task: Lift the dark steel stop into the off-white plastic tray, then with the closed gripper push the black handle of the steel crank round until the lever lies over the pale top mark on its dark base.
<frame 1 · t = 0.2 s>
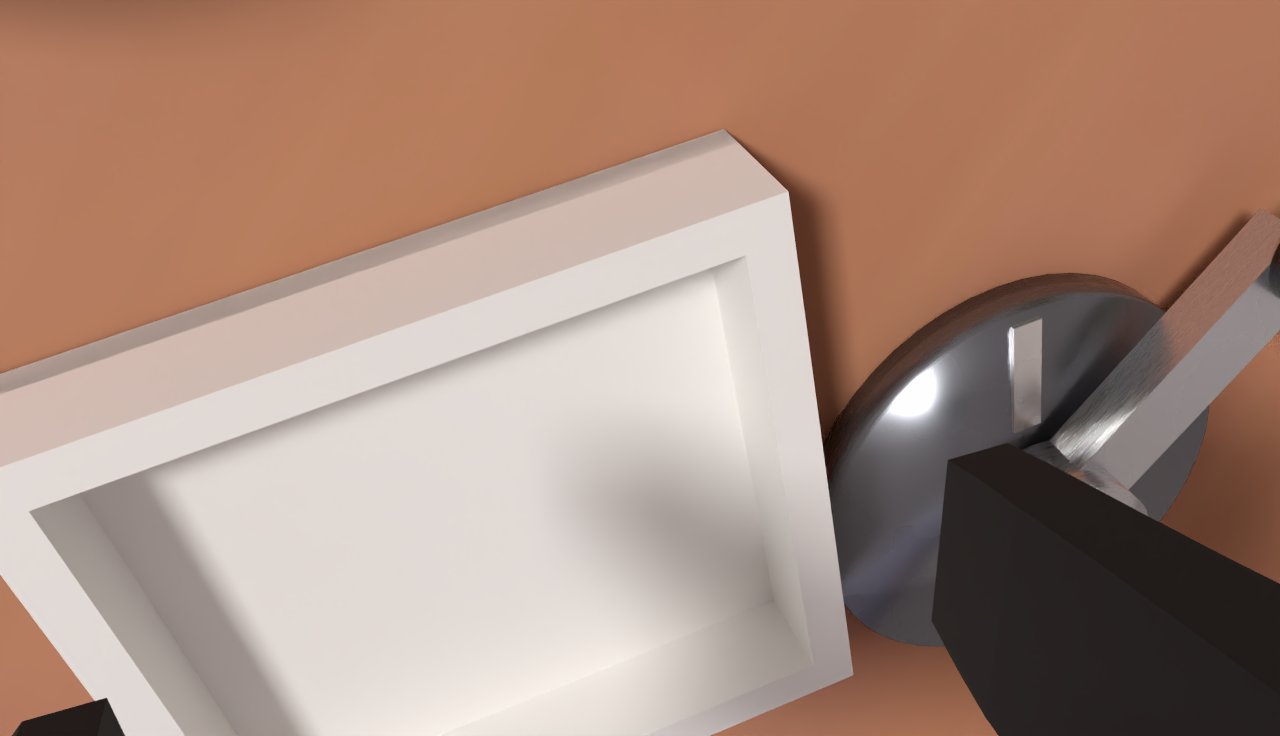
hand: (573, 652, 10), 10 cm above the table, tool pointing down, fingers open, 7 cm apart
crank: (1207, 420, 22), point 3 cm above the table, hinge at -50.0°
tray: (462, 509, 22), on the table
crank base: (998, 458, 26), on the table
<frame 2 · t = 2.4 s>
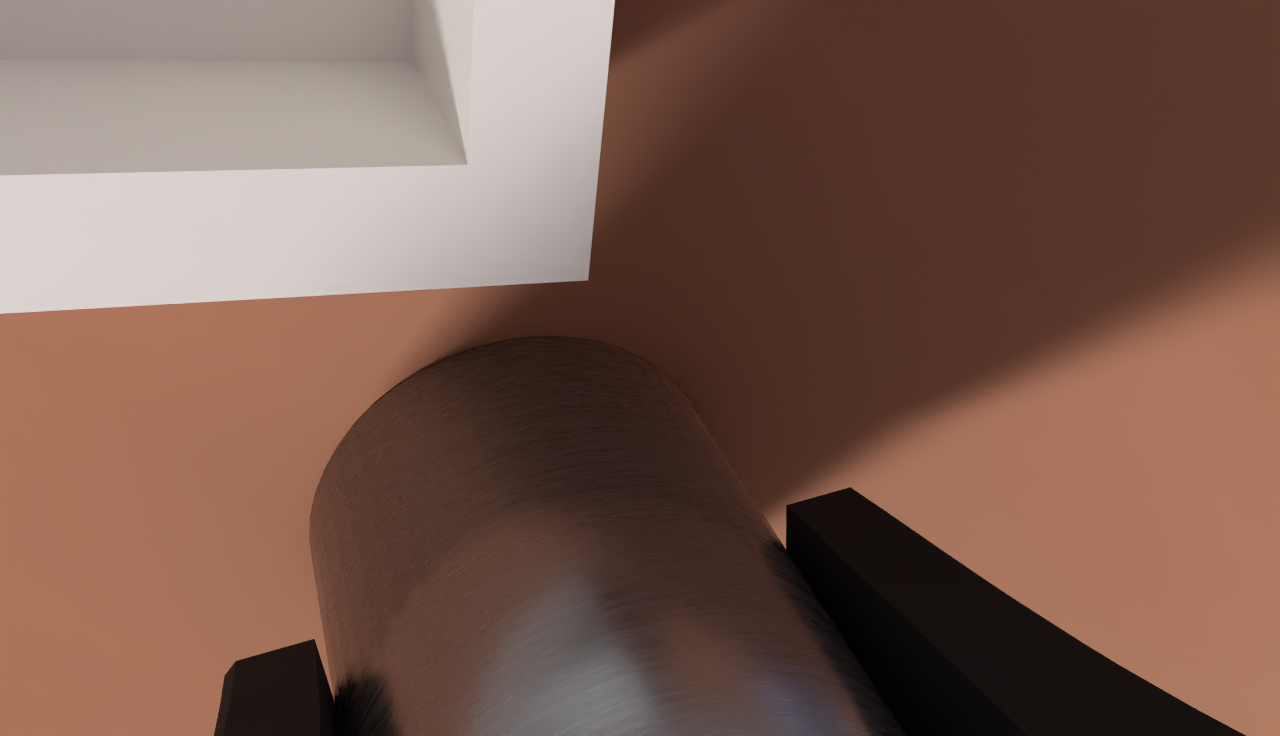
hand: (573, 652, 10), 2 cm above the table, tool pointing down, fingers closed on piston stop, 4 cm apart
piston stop: (519, 513, 12), on the table, touching gripper
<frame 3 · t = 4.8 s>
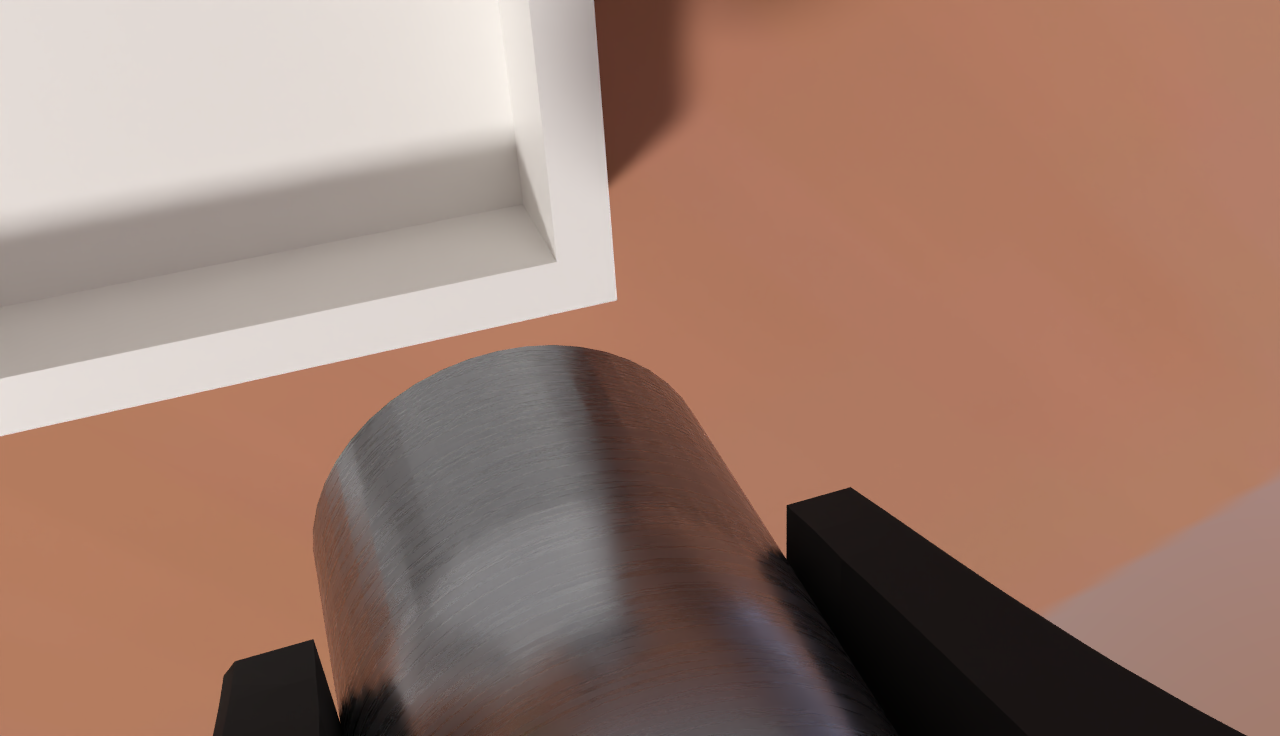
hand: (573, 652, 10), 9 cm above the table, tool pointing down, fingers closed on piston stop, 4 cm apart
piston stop: (521, 519, 12), point 7 cm above the table, touching gripper
when the fingers open (4 cm above the table, at t = 7.0 s): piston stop drops 1 cm, resting on tray.
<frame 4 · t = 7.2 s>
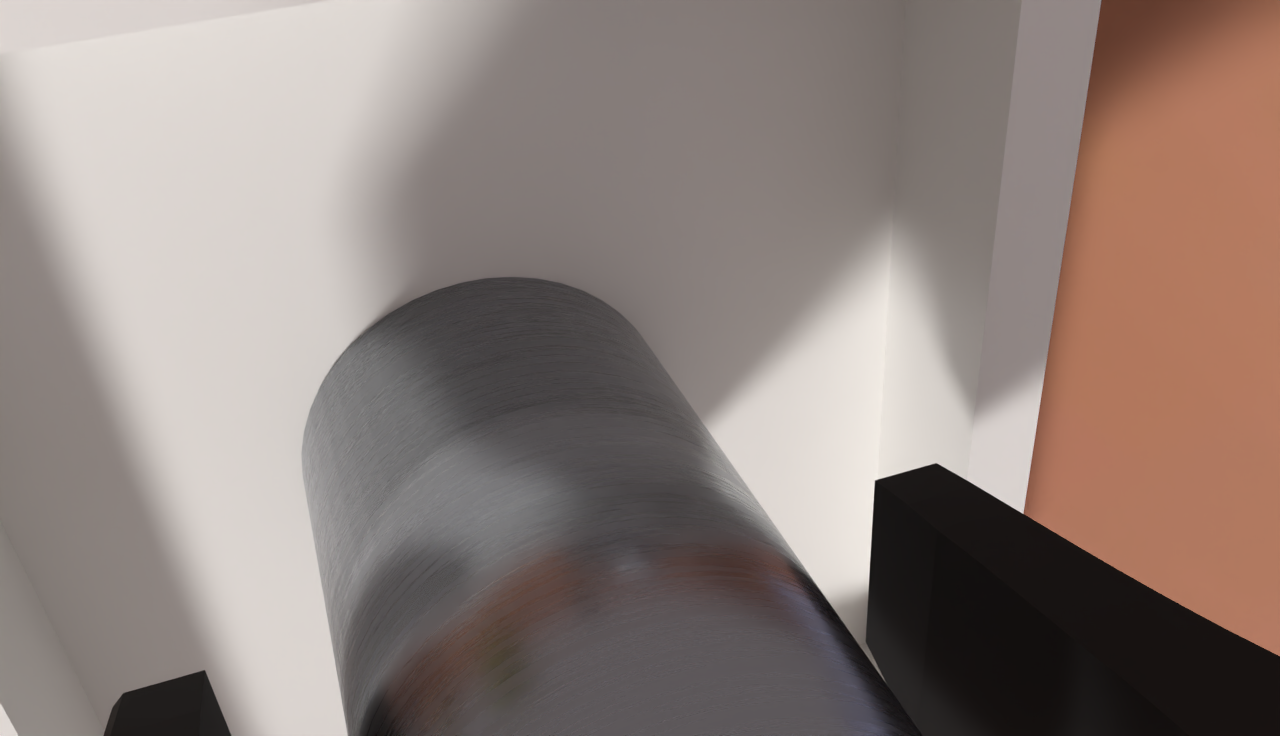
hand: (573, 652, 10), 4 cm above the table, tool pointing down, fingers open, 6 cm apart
tray: (475, 399, 13), on the table
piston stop: (492, 444, 13), point 1 cm above the table, touching tray
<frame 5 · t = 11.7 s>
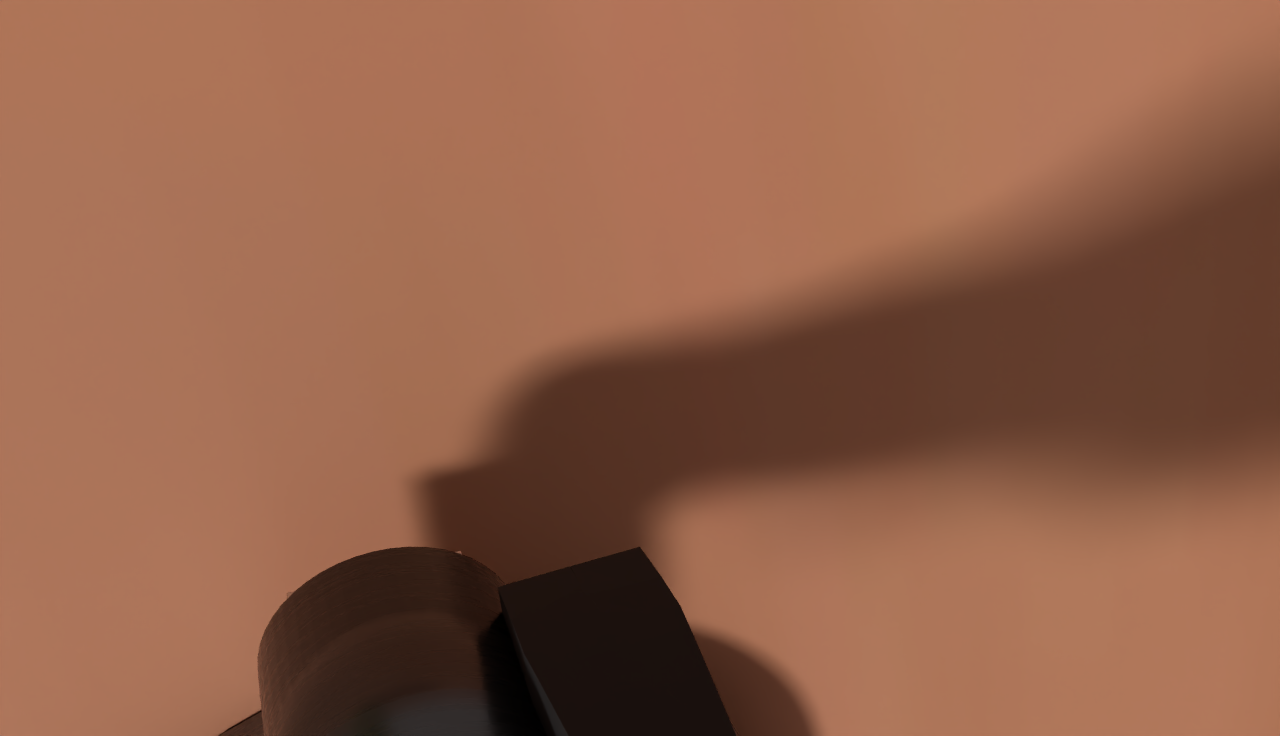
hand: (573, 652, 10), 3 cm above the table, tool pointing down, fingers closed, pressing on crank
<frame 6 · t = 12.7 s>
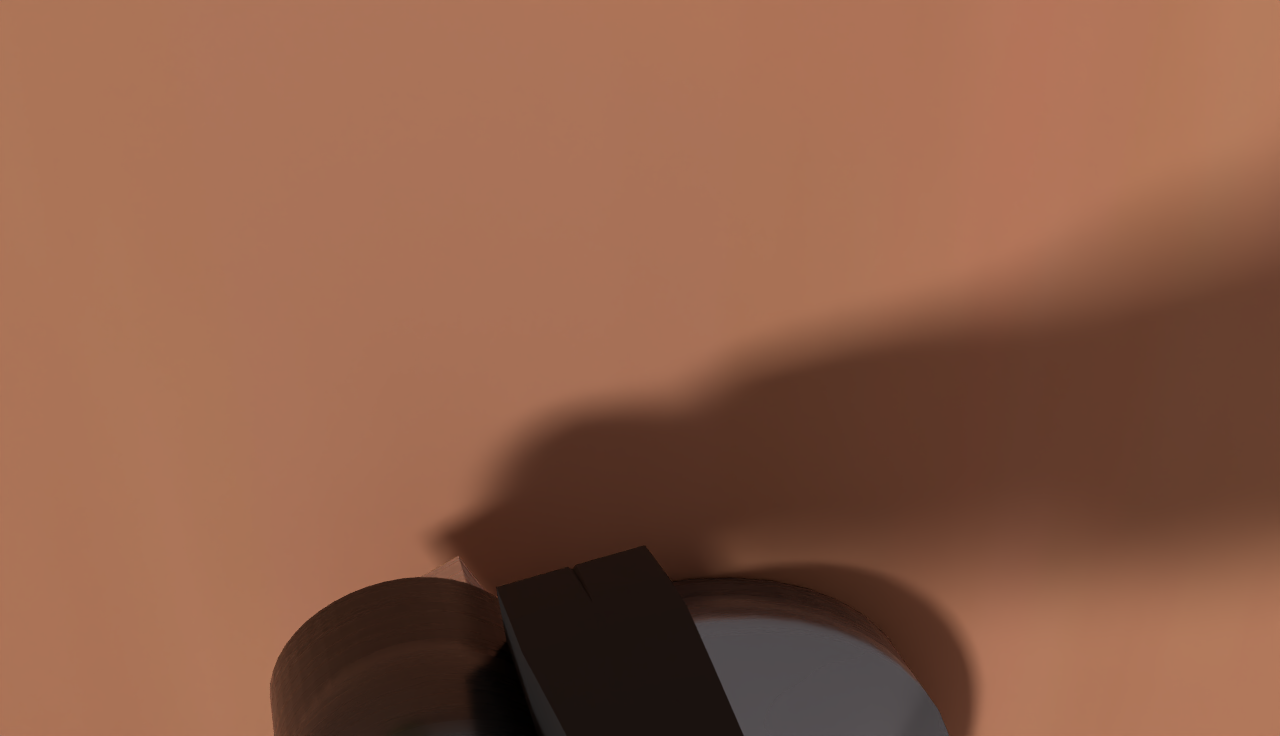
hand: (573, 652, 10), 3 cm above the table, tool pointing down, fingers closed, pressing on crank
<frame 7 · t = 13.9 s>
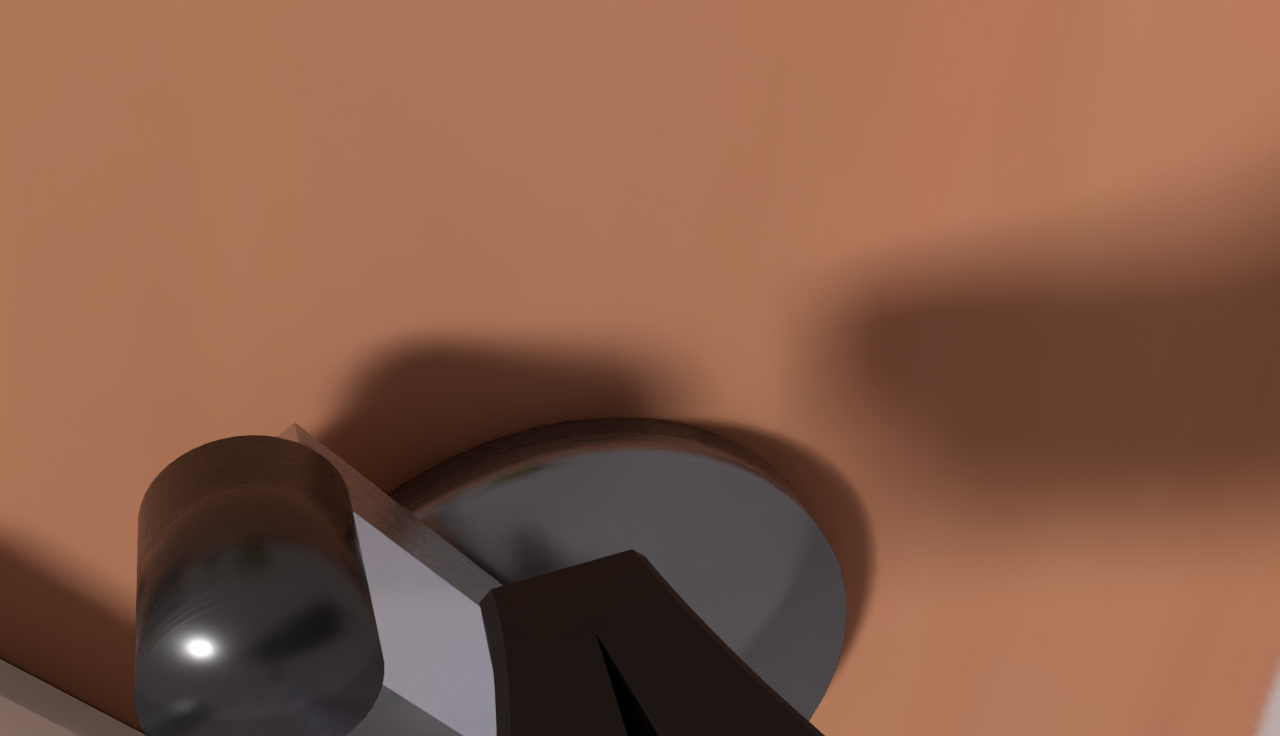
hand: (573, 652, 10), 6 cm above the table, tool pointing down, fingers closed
crank: (471, 709, 15), point 3 cm above the table, hinge at 0.7°
crank base: (562, 652, 19), on the table
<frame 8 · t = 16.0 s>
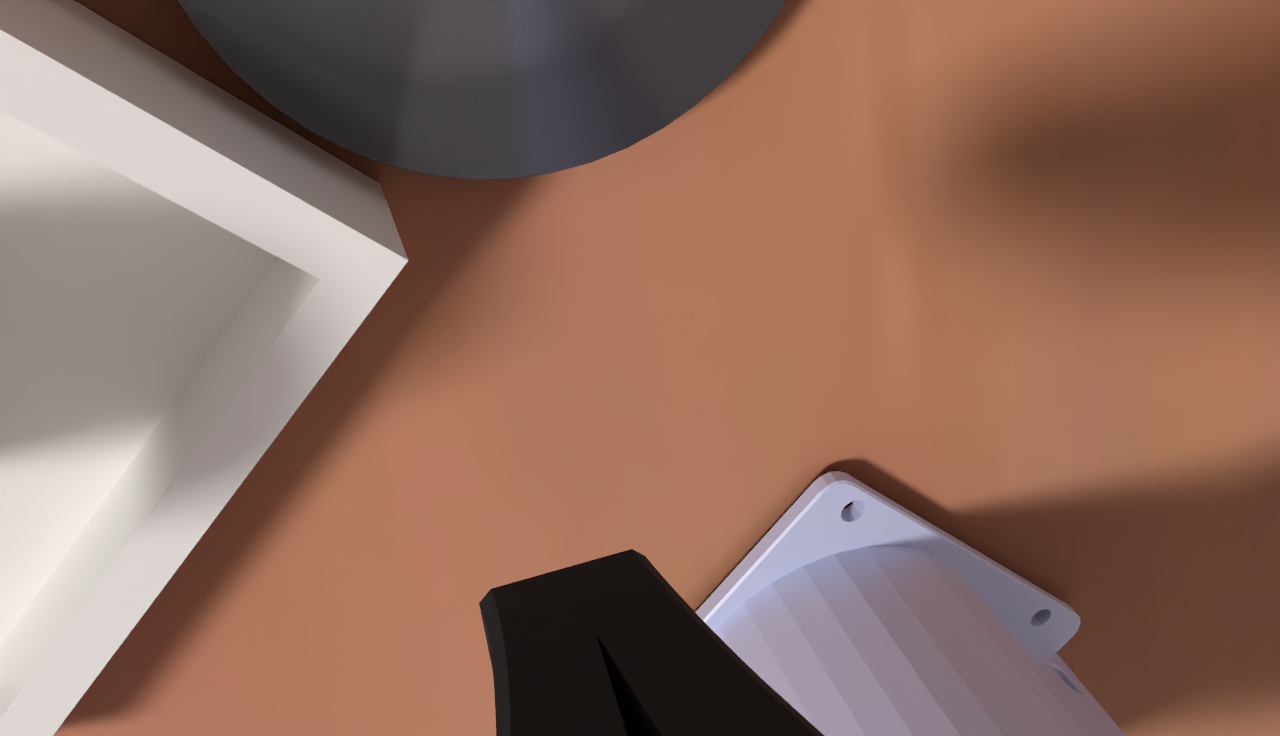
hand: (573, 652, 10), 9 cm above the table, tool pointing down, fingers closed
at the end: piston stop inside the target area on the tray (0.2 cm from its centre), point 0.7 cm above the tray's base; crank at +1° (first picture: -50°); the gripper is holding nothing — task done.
